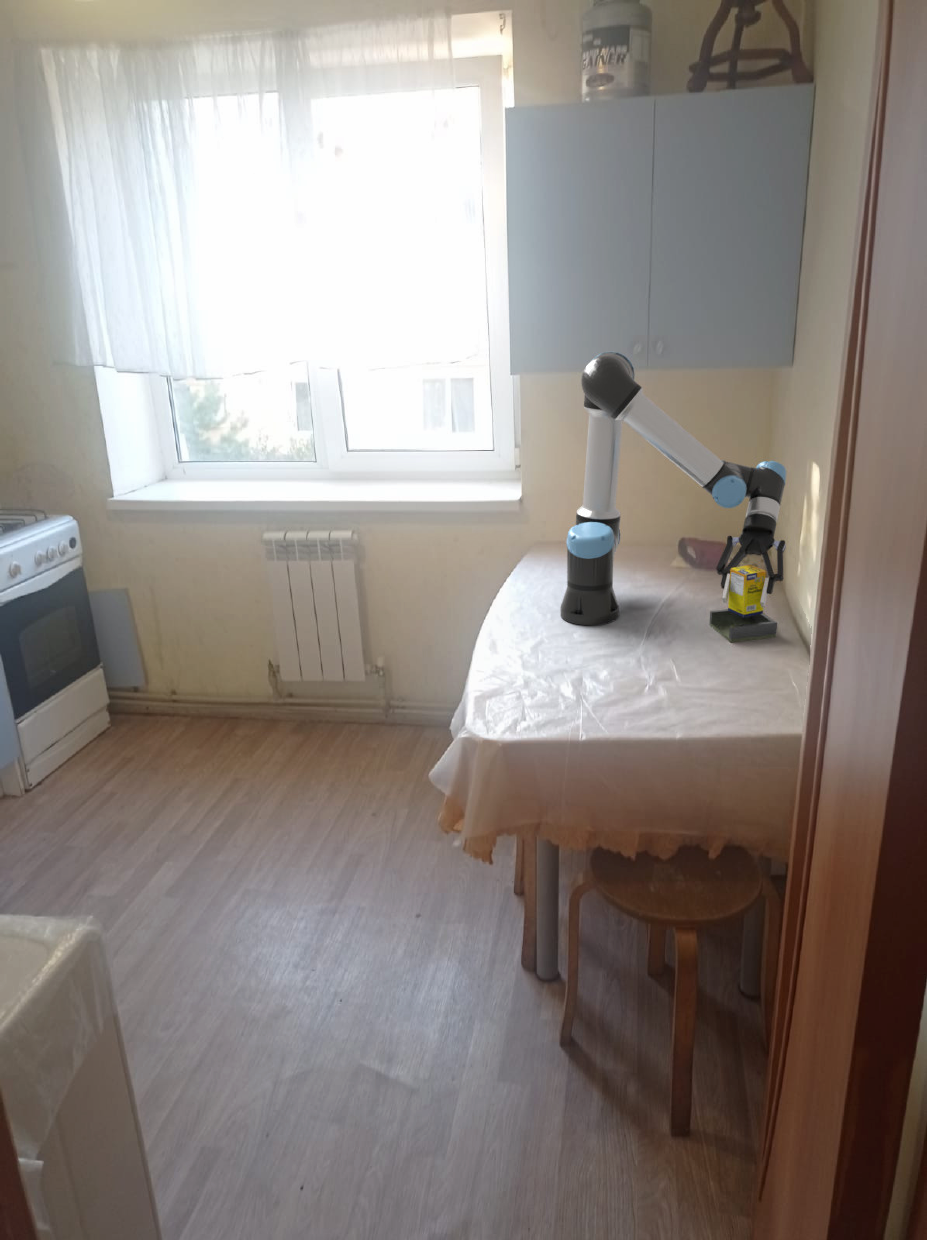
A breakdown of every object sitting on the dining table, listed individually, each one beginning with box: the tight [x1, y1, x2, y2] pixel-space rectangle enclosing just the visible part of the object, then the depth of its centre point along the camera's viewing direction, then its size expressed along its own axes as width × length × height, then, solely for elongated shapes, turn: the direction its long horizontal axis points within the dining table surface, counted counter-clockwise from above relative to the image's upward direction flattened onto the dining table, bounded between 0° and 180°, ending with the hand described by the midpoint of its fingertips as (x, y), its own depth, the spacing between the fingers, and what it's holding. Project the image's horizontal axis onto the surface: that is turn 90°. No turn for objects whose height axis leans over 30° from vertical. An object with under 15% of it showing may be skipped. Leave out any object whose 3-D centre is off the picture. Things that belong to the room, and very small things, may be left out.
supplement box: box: [727, 564, 767, 618], centre depth 211 cm, size 6×6×11 cm
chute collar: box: [708, 608, 778, 644], centre depth 214 cm, size 12×12×4 cm
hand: (743, 602), depth 209 cm, fingers closed on supplement box, 8 cm apart
